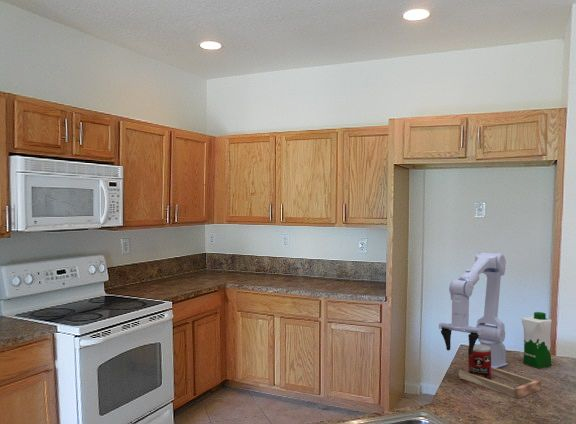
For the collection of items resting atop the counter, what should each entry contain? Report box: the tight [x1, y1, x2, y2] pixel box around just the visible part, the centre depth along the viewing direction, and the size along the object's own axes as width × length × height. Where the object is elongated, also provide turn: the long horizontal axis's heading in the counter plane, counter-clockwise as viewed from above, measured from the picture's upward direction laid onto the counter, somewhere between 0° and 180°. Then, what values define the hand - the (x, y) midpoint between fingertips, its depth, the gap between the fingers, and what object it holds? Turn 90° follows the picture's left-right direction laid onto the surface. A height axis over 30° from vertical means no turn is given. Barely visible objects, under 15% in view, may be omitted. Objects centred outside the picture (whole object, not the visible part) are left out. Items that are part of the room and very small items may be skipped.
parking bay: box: [458, 367, 542, 399], centre depth 160 cm, size 13×23×3 cm, turn 32°
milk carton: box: [521, 311, 553, 370], centre depth 178 cm, size 9×9×20 cm
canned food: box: [467, 343, 492, 380], centre depth 166 cm, size 8×8×11 cm
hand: (459, 351), depth 163 cm, fingers open, 7 cm apart
